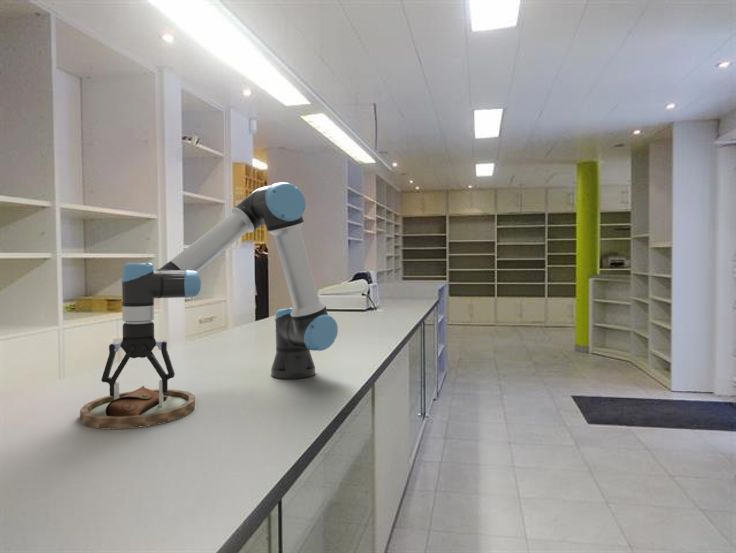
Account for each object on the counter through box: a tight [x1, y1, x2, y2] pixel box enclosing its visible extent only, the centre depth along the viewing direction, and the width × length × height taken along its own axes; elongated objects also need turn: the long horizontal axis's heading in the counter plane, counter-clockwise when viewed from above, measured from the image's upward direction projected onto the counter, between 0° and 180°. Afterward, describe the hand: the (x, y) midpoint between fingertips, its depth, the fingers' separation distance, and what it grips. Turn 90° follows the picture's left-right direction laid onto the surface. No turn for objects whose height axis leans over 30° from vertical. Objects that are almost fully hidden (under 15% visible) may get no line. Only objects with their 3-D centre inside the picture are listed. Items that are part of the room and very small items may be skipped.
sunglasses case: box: [106, 385, 168, 417], centre depth 133 cm, size 18×7×7 cm
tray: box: [79, 388, 196, 430], centre depth 133 cm, size 27×27×2 cm
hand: (139, 406), depth 133 cm, fingers open, 10 cm apart
